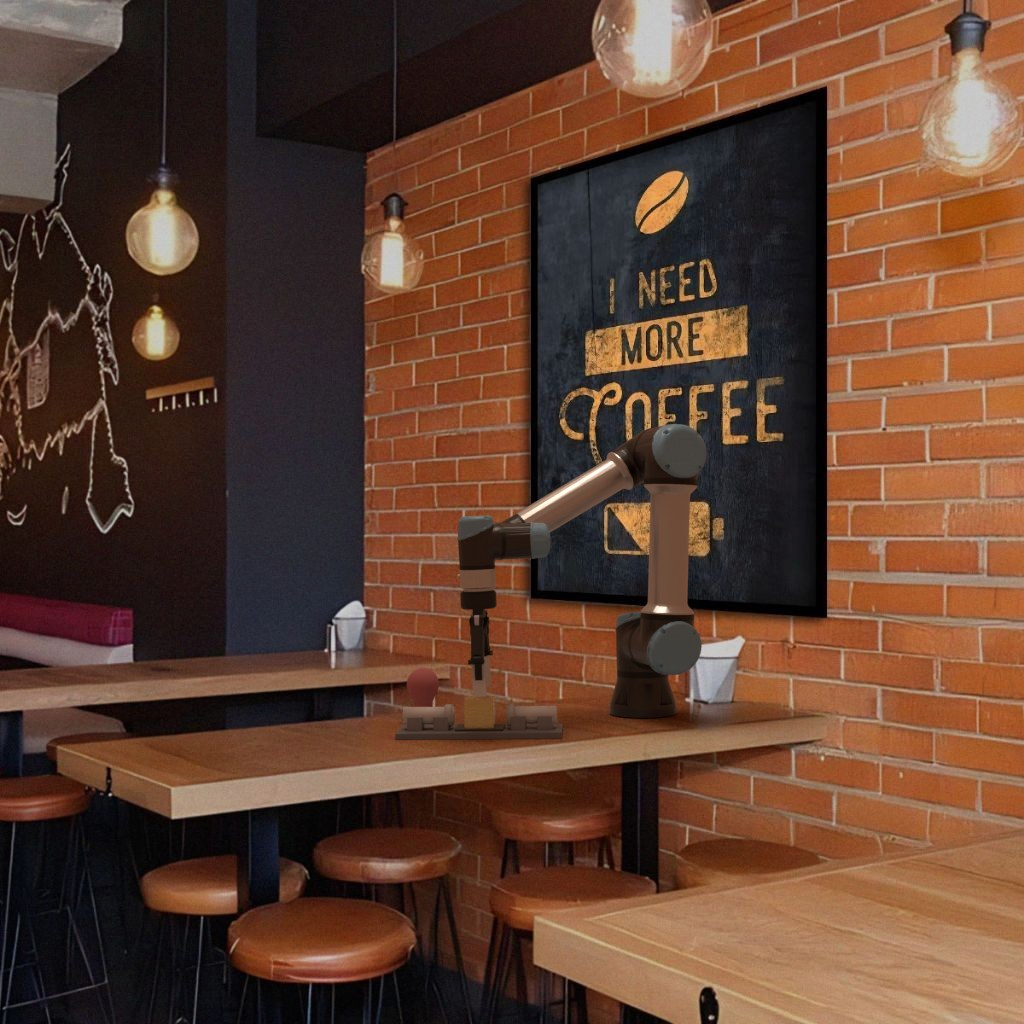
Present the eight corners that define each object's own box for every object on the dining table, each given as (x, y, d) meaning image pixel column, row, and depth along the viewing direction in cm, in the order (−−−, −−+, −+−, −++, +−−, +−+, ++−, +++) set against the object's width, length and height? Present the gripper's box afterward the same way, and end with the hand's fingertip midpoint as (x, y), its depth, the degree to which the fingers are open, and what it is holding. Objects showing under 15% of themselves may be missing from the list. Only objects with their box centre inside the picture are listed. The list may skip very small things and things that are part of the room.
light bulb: (441, 719, 299) (440, 666, 299) (436, 724, 292) (435, 669, 292) (410, 719, 299) (409, 666, 299) (404, 724, 292) (403, 670, 292)
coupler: (466, 724, 280) (466, 696, 280) (495, 724, 280) (494, 696, 280) (464, 728, 275) (464, 699, 275) (493, 728, 275) (493, 699, 275)
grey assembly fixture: (562, 729, 283) (562, 699, 283) (561, 738, 271) (561, 707, 271) (403, 730, 285) (402, 700, 285) (395, 739, 273) (394, 708, 273)
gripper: (465, 586, 291) (469, 683, 291) (454, 594, 266) (458, 700, 266) (499, 585, 290) (503, 682, 290) (491, 593, 265) (496, 699, 265)
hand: (482, 691), depth 278 cm, fingers open, 13 cm apart
